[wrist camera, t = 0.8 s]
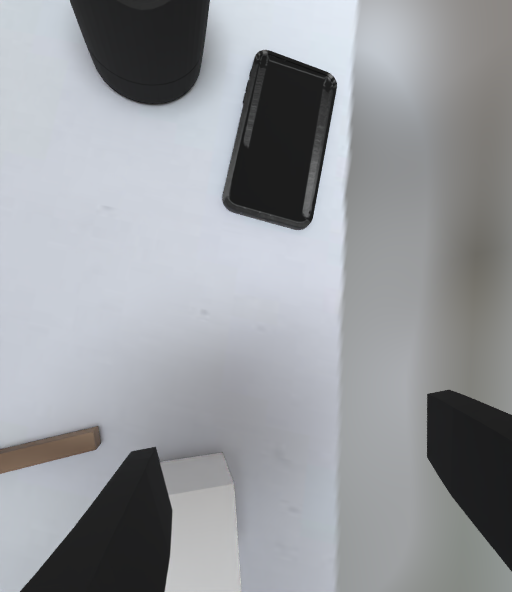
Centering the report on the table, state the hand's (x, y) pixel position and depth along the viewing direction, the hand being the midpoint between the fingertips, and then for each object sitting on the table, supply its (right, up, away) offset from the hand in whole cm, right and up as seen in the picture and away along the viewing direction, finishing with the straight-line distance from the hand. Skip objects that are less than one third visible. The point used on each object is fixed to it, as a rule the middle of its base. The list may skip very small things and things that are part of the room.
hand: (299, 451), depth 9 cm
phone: (+1, +18, +22) cm, 28 cm away
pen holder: (-10, +24, +20) cm, 33 cm away
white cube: (-6, -11, +17) cm, 21 cm away
